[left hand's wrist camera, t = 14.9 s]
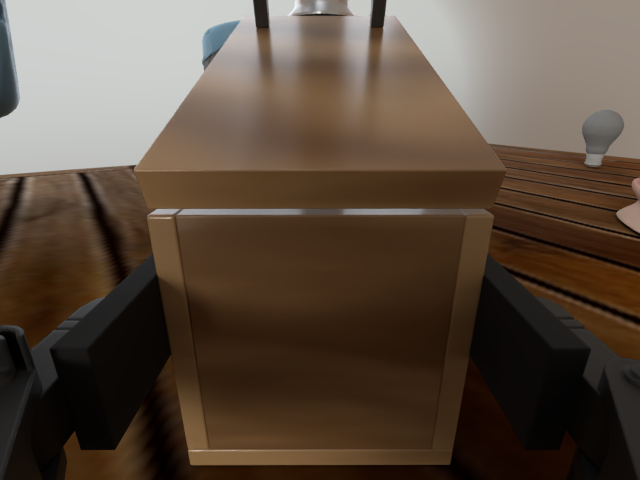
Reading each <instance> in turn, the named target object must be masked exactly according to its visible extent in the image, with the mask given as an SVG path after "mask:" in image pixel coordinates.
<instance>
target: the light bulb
mask: <svg viewBox="0 0 640 480" xmlns="http://www.w3.org/2000/svg"><path fill="white" fill-rule="evenodd" d="M623 128H624V122H623V119H622V117H621V116H620V115H619V114H618V113H617V112H614V111H611V110H603V111H599V112H596V113H594V114H592V115H591V116H590V117H589V118H588V119H587V120H586V121H585V122H584V124H583V127H582V134H583V136H584V139H585V142H586V152H587V155H586V156H587V157H586V158H587V159H585V160H586V161H585V164H586V165H588V166H590V167H597V166H599V165H601V160H602V158H603V157H604V154H605V153H606V152H607V150H608V148H609V146H610V145H611V144H612V143H613V142H614V140H616V139H617V137H618V136H619V135H620V134H621V132H622V130H623Z"/></svg>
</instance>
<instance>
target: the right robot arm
mask: <svg viewBox="0 0 640 480" xmlns="http://www.w3.org/2000/svg"><path fill="white" fill-rule="evenodd" d="M288 16H356V15H355V14H354V13H353V12H352V11H351V10H350V8H349V0H295V7H294V9H293V11H292V12H291V13H290V14H289V15H288ZM240 21H241V20H240ZM240 21H233V22H227V23H223V24H219V25H216V26H214V27H212V28H210V29H208V30H207V31H206V32H205V34H204V36H203V39H202V46H203V60H202V64H203V65H204V71H205V70H206V68H207V67H208V66H209V64H210V63H211V61H212V60H213V59H214V57H215V56H216V55H217V53H218V52H219V50H220V49H221V48H222V46H223V45H224V43H225V42H226V41H227V39H228V38H229V36H230V35H231V34H232V32H233V31H234V29H235V28H236V27H237V25H238V24H239V22H240Z"/></svg>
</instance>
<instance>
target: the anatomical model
mask: <svg viewBox="0 0 640 480" xmlns="http://www.w3.org/2000/svg"><path fill="white" fill-rule="evenodd" d="M632 189H633V191H634V193H635V194H636V196H637V197H638V201H637V202H636V203H635V204H632V205H630V206H627V207H625V208H623V209H621V210H619V211H618V212H617V213H616V214H617V217H618V218H619V219H620V220H621V221H622V222H623V223H624V224H626V225H627V226H629V227H630V228H631V229H633V230H635V231H636V232H638V233H640V178H637V179H634V180H633V182H632Z"/></svg>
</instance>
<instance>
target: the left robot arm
mask: <svg viewBox="0 0 640 480" xmlns="http://www.w3.org/2000/svg"><path fill="white" fill-rule="evenodd" d="M18 103H19V87H18V79H17V72H16V65H15V59H14V52H13V45H12V39H11V33H10V26H9V21H8V15H7V9H6V2H5V0H0V118H1V117H3V116H6V115H8V114H10V113H11V112H12V111H14V110H15V109H16V107H17V105H18ZM170 355H171V351H170V345H169V340H168V334H167V329H166V323H165V317H164V312H163V306H162V300H161V295H160V289H159V283H158V278H157V272H156V267H155V261H154V255H153V254H152V255H151V256H149V257H148V258H147V259H146V260H145V261H144V262H143V263H142V264H141V265H140V266H139V267H137V268H136V269H135V270H134V271H133V272H132V273H131V274H130V275H129V276H128V277H127V278H126V279H124V280H123V281H122V282H121V283H120V284H119V285H118V286H117V287H116V288H115V289H114V290H112V291H111V292H110V293H109V294H108V295H107V296H106V297H105V298H97V299H95V300H93V301H92V302H90V303H88V304H86V305H84V306H82V307H80V308H79V309H78V310H77V311H75V312H74V313H73V314H72V315H71V316H70V317H68V318H67V321H64V322H63V323H62V324H60V325H59V326H58V327H57V328H56V330H53V331H52V332H51V333H50V334H49V335H48V336H46V337H45V338H44V339H43V340H42V341H41V342H40V343H38V344H37V345H36V346H35V347H34V348H33V349H31V350H30V348H29V345H28V342H27V339H26V336H25V333H24V330H23V329H21V328H20V327H18V326H10V325H3V326H0V480H64V479H65V471H66V464H67V460H66V454H65V451H64V448H63V446H64V444H65V443H66V442H67V440H68V439H69V438H70V436H71V435H72V434H73V432H74V431H75V432H76V435H77V438H78V442H79V445H80V448H81V450H115V449H116V447H117V445H118V444H119V442H120V440H121V439H122V437H123V435H124V433H125V432H126V430H127V428H128V427H129V425H130V423H131V422H132V420H133V418H134V416H135V415H136V413H137V411H138V410H139V408H140V406H141V404H142V403H143V401H144V399H145V398H146V396H147V394H148V392H149V391H150V389H151V387H152V386H153V384H154V382H155V380H156V379H157V377H158V375H159V374H160V372H161V370H162V369H163V367H164V365H165V363H166V362H167V360H168V358H169V357H170ZM470 356H471V358H472V359H473V361H474V363H475V364H476V366H477V368H478V370H479V371H480V373H481V375H482V376H483V378H484V380H485V382H486V383H487V385H488V387H489V388H490V390H491V392H492V393H493V395H494V397H495V399H496V400H497V402H498V404H499V405H500V407H501V409H502V411H503V412H504V414H505V416H506V417H507V419H508V421H509V423H510V424H511V426H512V428H513V429H514V431H515V433H516V435H517V436H518V438H519V440H520V441H521V443H522V445H523V446H524V448H525V450H559V449H560V446H561V443H562V440H563V437H564V434H565V431H566V430H567V431H568V432H569V434H570V435H571V436H572V438H573V439H574V440H575V442H576V443H577V444H578V445H577V448H576V451H575V454H574V457H573V460H572V463H571V466H570V468H569V471H568V474H567V477H566V480H575V479H576V480H640V361H639V360H636V359H629V358H620V357H619V356H618V355H617V354H616V353H615V352H613V351H612V350H611V349H610V348H609V347H608V346H607V345H605V344H604V343H603V342H602V341H601V340H600V339H598V338H597V337H596V336H595V335H594V334H593V333H591V332H590V331H589V330H588V329H585V328H584V326H583V325H582V324H581V323H580V322H579V321H577V320H574V317H573V316H572V315H570V314H569V313H568V312H567V311H566V310H565V309H563V308H562V307H561V306H559V305H557V304H555V303H554V302H552V301H550V300H548V299H546V298H544V297H534V296H533V295H532V294H531V293H530V292H529V291H528V290H527V289H526V288H525V287H524V286H523V285H521V284H520V283H519V282H518V281H517V280H516V279H515V278H514V277H513V276H512V275H511V274H509V273H508V272H507V271H506V270H505V269H504V268H503V267H502V266H501V265H500V264H499V263H498V262H496V261H495V260H494V259H493V258H492V257H491V256H490V255H489V254H487V259H486V265H485V271H484V276H483V282H482V288H481V293H480V299H479V305H478V310H477V316H476V321H475V327H474V333H473V338H472V344H471V350H470Z"/></svg>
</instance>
